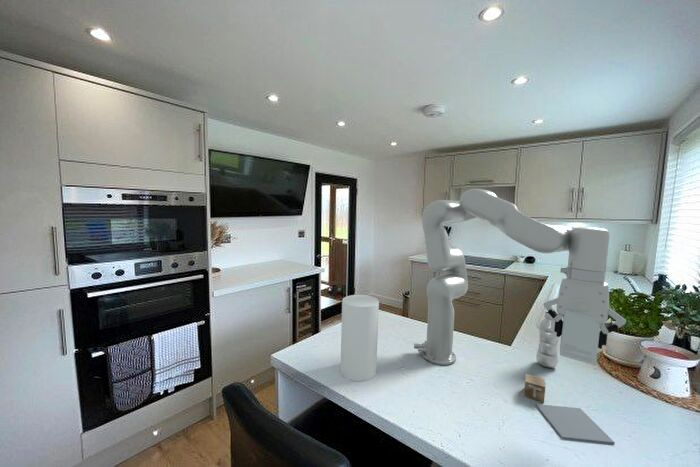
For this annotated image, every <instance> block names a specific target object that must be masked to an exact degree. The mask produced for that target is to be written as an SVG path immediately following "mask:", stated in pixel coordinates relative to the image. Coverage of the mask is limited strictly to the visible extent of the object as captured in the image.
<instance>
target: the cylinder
mask: <svg viewBox="0 0 700 467" xmlns="http://www.w3.org/2000/svg"><path fill="white" fill-rule="evenodd" d="M379 309H380V300H379V299H378V298H376V297H374V296H370V295H367V294H366V295H365V294H350V295H347V296H344V297H343V298H342V300H341V329H340V331H341V332H340V333H341V335H340V336H341V337H340V338H341V339H340V364H339V365H340V367H339V368H340V369H339V370H340V373H341V375H342V376H343V377H344V378H345V379H348V380H350V381H353V382H354V381H355V382H365V381H369V380H371V379H373V378H374V377H375V376H376V374H377V364H378V363H377V362H378V361H377V359H378V336H379V334H378V333H379V311H380V310H379Z"/></svg>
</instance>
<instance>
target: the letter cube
mask: <svg viewBox="0 0 700 467" xmlns="http://www.w3.org/2000/svg"><path fill="white" fill-rule="evenodd" d="M524 380H525V381H524V394H523V396H524V398H527V399H531V400H534V401H537V402H538V403H539V402H540V403H545V396H546V395H545V394H546V380H545V378H544V377H543V378H542V377H539V376H536V375H533V374H529V373H525V379H524Z"/></svg>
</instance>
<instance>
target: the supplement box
mask: <svg viewBox="0 0 700 467" xmlns="http://www.w3.org/2000/svg"><path fill="white" fill-rule="evenodd" d="M562 321H563V325H562V334H561V336H560V345H559V355H560V356H561V357H565V358H568V359H572V360H575V361H578V362H582V363H585V364H588V365H593V366H596V364H597V360H598V359H597V357H598V351H599V348H598V342H599V333H600V330H601V329H600V325H601V324H599V323H596V318H595V317H594V316H593V315H591V314H587V313H582V312H578V311H574V310H569V309H565V313H564V317H563V318H562Z"/></svg>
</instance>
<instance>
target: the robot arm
mask: <svg viewBox="0 0 700 467" xmlns="http://www.w3.org/2000/svg"><path fill="white" fill-rule="evenodd" d="M476 218H477V219H480V220H482V221H483V222H485V223H487V224H489V225H491V226H494V227H495V228H497V229H499V231H500V232H502V233H503V234H505V235H506V236H507V237H508V238H509V239H512V240H513V241H515V242H516V243H519V244H521V245H522V246H524V247H526V248H528V249H531V250H533V251H535V252H537V253H541V254H553V253H560V252H568V261H567V266H566V267H560V273H562V274H565V275H566V276H565V277H562V279H561V282H560V285H559V290H558V296H557V297H555V298H552V299H551V300H550V299H549V300H547V301H545V302H544V303H543V306H544V308H545V310H546V311H548V313H549V314H550V315H551V317H552V318H553V319H554V321H555V328H554V332H557V334H556V336H557V337H559V338H561V334H562V325H563V317H564V313H565V309H569V310H574V311H578V312H582V313H587V314H591V315H593V316H594V317H595V318H596V323H599V324H601V325H600V333H599V342H598V350H599V349H600V350H602V348H603V346H607V341H608V335H609V334H610V333H612V332H614V331H617V330H618V329H620V328H621V327H622V326H624V325H625V324H626V323H627V319H626V318H624V317H623V316H622V315H621V314H619V313H617V312H616V311H615V310H614V309H612V308H611V307H610V290H609V284H608V283H607V282H606V281H605V280H606V270H607V262H608V252H609V242H610V233H609V231H608V229H605V228H602V227H601V228H600V227H586V226H585V227H583V226H580V227H579V226H578V227H574V226H567V225H561V224H546V223H544V222H541V221H539V220H537V219H534V218H533V217H530V216H528V215H527V214H523V213H522V212H521V211H520V210H519V209H518V208H517V205H516V204H514V203H512V202H510V201H508V200H506V199H504V198H501V197H498V196H497V195H496V194H495V193H494V192H493V191H491V190H489V189H483V188H482V189H481V188H469V189H468V190H466V191H465V192H463V194H461V196H460V199H458V200H453V199H452V200H451V199H450V200H449V199H439V200H437V199H436V200H434V201H432V202H430V203H429V204H428V205H427V206H426V207H425V208H424V210H423V213H422V216H421V224H422V226H421V227H422V230H423V235H424V242H425V252H426V259H427V265H428V267H429V269H430V270H431V271H432V272H434V273H443V272H444V274H441V275H437V276H434V277H433V278H431V279H430V280H429V281H428V283H427V285H426V295H427V305H428V306H427V307H428V308H427V326H426V340H424V342H422V343H417V342H416V343H415V342H414V343H413V349H415V350H416V349H417V352H421V356H422V357H423V359H425V360H426V361H427V362H430V363H432V364H435V365H440V366H447V365H448V366H449V365H452V364H455V363H456V360H457V355H456V354H455V353H454V351H453V343H454V328H455V327H454V326H455V325H454V324H455V309H454V305H453V300H454V299H458V298H460V297H462V296H464V295H466V293H468V292H467V291H468V289H469V282H468V272H467V265H466V259H465V255H464V253H463V251H462V250H461V249H459V247H457V246H453V245H450V243H449V234H448V231H447V230H446V228H445V226H444V224H456V223H457V224H459V223H464V222H467V221H470V220H473V219H476ZM554 305H556V310H555V309H554V308H553V306H554ZM609 316H610V317H611V318H613V319H614V320H615V322H613V323H611V324H609V325H608V324H607V322H608V318H609Z"/></svg>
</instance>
